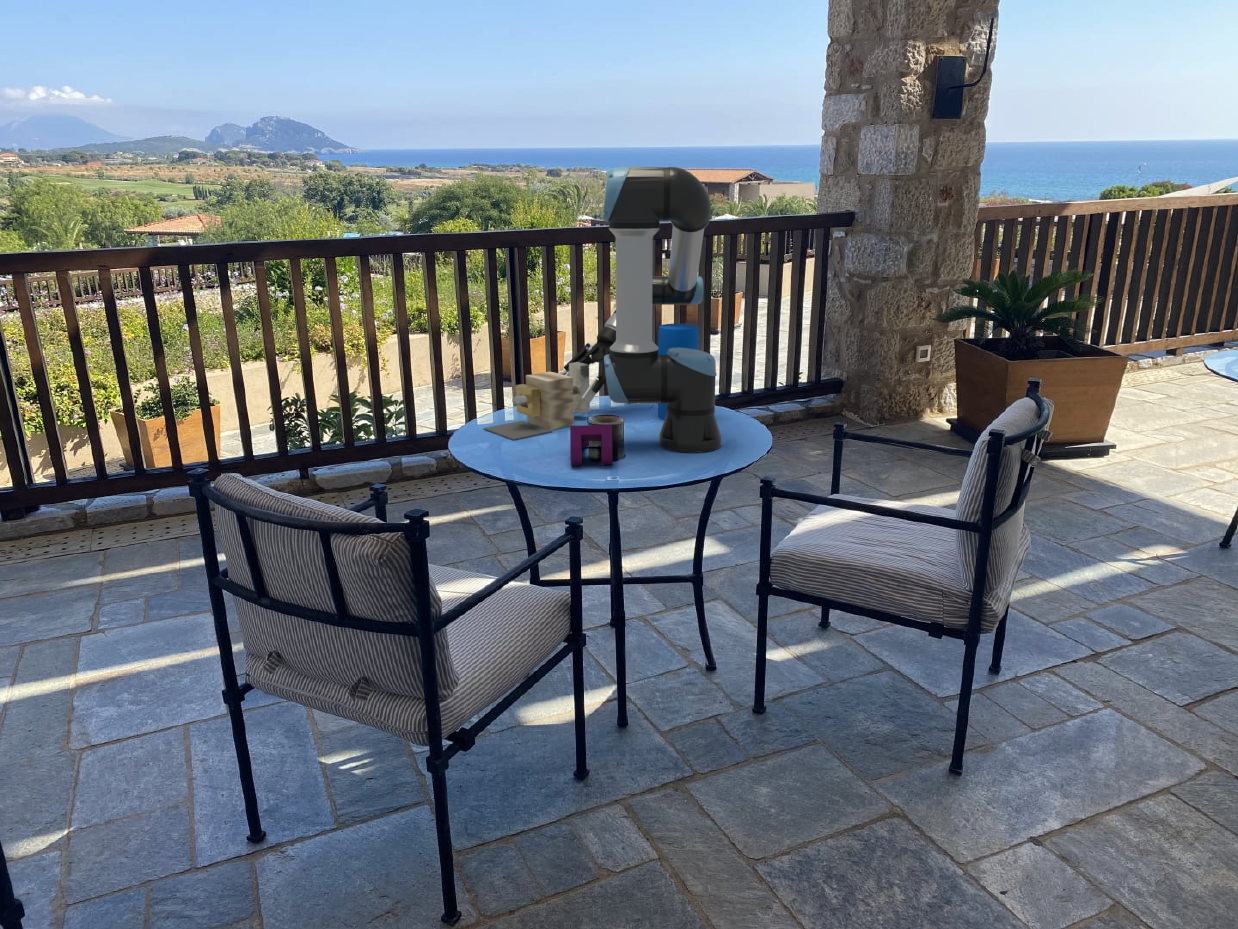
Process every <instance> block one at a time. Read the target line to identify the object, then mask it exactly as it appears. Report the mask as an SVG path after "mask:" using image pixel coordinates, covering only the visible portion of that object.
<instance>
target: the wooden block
mask: <svg viewBox="0 0 1238 929" xmlns="http://www.w3.org/2000/svg"><path fill="white" fill-rule="evenodd" d="M525 385H529V386H532V387H536V388H539V392H541V401H540V416H536V417H530V416H527V415H526V417H527V418H526V419H527V420H526V422H528V423H531V424H534V425H537V426H540V427H542V428H545V429H548V430H551V431H553V430H558V429H561V428H562V427H563V428H566V427H565V426H568V427H570V426H569V425H572V424H575V421H574V411H573V377H570V376H566V375H565V374H561V373H557V372H553V371H543V372H539V373H533V374H526V375H525ZM572 426H573V425H572ZM563 428H562V429H563Z"/></svg>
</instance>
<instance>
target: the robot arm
mask: <svg viewBox="0 0 1238 929" xmlns="http://www.w3.org/2000/svg"><path fill="white" fill-rule="evenodd" d="M604 193H605V194H604V202H603V212H602V221H603V222H608V230H609V231H610V232H611V233H612V234H613V235H614V238H615V309H614V311H612V312H613V313H611V315H610V317H609V318H608V319H607V321H606V322H605V323H604V326H603V327H602V328H601V329H600V331H599V332H598V334H597V335H596V343H594V345H592V344H590V343H589V342H587V343H586V344H585V345H584V346H583V347H582V349H581V350H580V351H579V352H577V354H576V355H574V356H573V357H572V358H571V359H570V360H569V361H568V362H567V363H565V365H564V366H563V369H564V370H565V371H566V372H565V374H564V375H566V376H569V363H574V362H580V363H584V364H588V365H589V366H590V365H591V364H592V365H594V364H595V363H599V365H598V366H599V367H598V374H597V376H596V378H594V379H593V380H592V382H591V384H589V388H588V389H587V391H586V392H585V394H584V395H583V397H582V399H583V400H584V401H585V402H586V403H587V404H591V402H592V401H593V400H594V398H595V396H596V395H597V394H598V393H599V391H600V390H601V388H602V387H603V386H604V385H606V386H607V393H608V397H609V399H610V400H611V401H612V402H613V403H614V404H615V403H616V404H627V405H631V404H658V403H667V414H666V417H665V420H664V421H663V424H662V427H661V429H660V431H659V432H660V433H659V435H658V436H659V438H658V440H659V446H660V447H662V448H663V449H665V450H669V451H672V452H679V453H706V452H710V451H715V450H716V449H719V448H720V447H721V446H722V445H721V444H722V434H721V432H720V428H719V424H718V421H717V418H716V414H715V412H716V377H717V375H718V374H717V368H716V367H717V366H716V365H717V364H716V359H715V357H714V355H712V354H710V353H708V352H707V351H704V350H703V351H702V350H701V349H700V350H699V349H698V350H695V349H689V348H670V349H668V352H667V355H658V344H656V343H655V342H654V341H653V306H661V305H663V306H664V305H666V306H669V305H671V306H673V305H674V306H675V305H676V306H681V305H682V306H689V305H690V306H691V305H699V304H701V303H702V302H703V300H704V279H703V277H702V276H699V269H700V268H699V267H700V260H701V255H702V246H703V240H704V233H705V229H706V227H707V226H708V225H709V224H710V221H711V220H710V219H711V214H712V204H711V200H710V196H709V193H708V192H707V188H705V186H704V184H702V182H701V181H700V180H699V179H698V178H697V177H696V175H694V174H693V173H691V172H690V171H688V170H686V169H684V168H682V167H678V166H677V167H676V166H668V167H665V166H664V167H663V166H655V167H653V166H652V167H650V166H648V167H647V166H645V167H644V166H624V167H623V166H622V167H615V168H612V169H610V170H609V172H608V174H607V177H606V186H605V192H604ZM665 221H667V222H668V221H669V222H670V224H671V225H672V231H671V232H672V233H671V241H670V242H671V244H670V245H671V246H670V255H669V256H670V258H669V267H668V275H666V276H662V275H661V276H660V275H658V276H657V275H655V276H654V275H653V268H654V267H653V264H654V263H653V262H654V261H653V260H654V259H653V256H654V255H653V254H654V253H653V252H654V250H653V247H654V244H653V243H654V241H653V240H654V236H655V235H656V234H657V233H658V231H660V222H665Z"/></svg>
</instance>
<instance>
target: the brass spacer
mask: <svg viewBox="0 0 1238 929" xmlns="http://www.w3.org/2000/svg"><path fill="white" fill-rule="evenodd" d="M521 395H525V396H527V402H528V404H523V405H518V406H516V413H519V414H522V415H524V416H526V417H527V416H530V417H536V416H540V398H539V388H536V387H532V386H529V385H526V383H525V384H524V383H522V384H521V383H520V384H515V396H521Z"/></svg>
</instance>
